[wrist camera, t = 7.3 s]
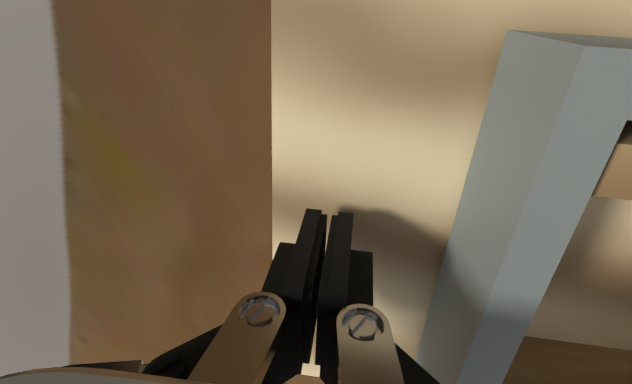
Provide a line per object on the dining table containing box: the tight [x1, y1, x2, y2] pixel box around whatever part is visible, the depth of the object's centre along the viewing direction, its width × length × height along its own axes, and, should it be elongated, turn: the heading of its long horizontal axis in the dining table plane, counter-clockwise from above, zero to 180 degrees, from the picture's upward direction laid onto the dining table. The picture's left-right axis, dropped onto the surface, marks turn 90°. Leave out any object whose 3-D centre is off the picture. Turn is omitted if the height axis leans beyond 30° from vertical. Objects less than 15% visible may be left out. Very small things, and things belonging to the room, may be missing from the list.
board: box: [271, 0, 632, 384], centre depth 12 cm, size 18×20×6 cm
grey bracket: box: [415, 30, 632, 384], centre depth 11 cm, size 14×4×4 cm, turn 177°
